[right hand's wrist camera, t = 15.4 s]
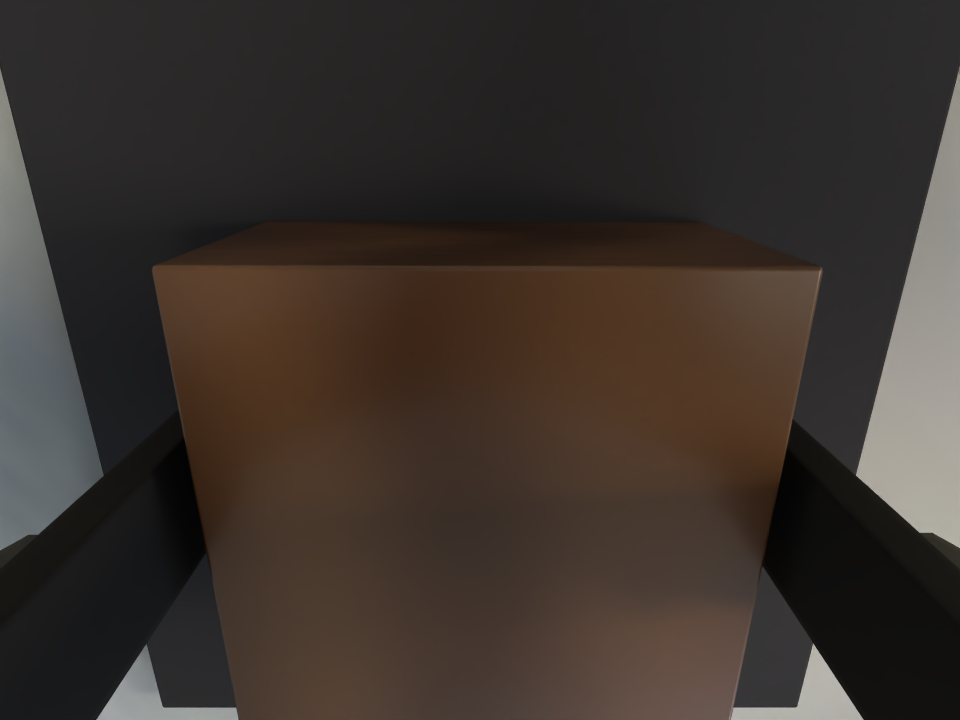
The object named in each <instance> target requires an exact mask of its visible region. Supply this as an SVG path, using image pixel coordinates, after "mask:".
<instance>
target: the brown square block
mask: <svg viewBox="0 0 960 720" xmlns="http://www.w3.org/2000/svg"><path fill="white" fill-rule="evenodd" d="M822 273H823V270H822V267H820V266H818V265H815V264H813V263H810V262H807V261H805V260H802V259H799V258H797V257H794V256H791V255H789V254H786V253H783V252H781V251H778V250H776V249H773V248H770V247H768V246H765V245H762V244H760V243H757V242H754V241H752V240H749V239H746V238H744V237H741V236H739V235H736V234H733V233H731V232H728V231H725V230H723V229H720V228H717V227H715V226H712V225H709V224H707V223H704V222H264V223H261V224H259V225H256V226H254V227H251V228H249V229H246V230H244V231H241V232H238V233H236V234H233V235H231V236H228V237H226V238H223V239H221V240H218V241H216V242H213V243H210V244H208V245H205V246H203V247H200V248H198V249H195V250H193V251H190V252H188V253H185V254H182V255H180V256H177V257H175V258H172V259H170V260H167V261H165V262H162V263H160V264H157V265H155V266H153V267H152V274H153V279H154V284H155V289H156V294H157V300H158V305H159V310H160V315H161V320H162V325H163V331H164V336H165V341H166V346H167V351H168V356H169V362H170V367H171V372H172V377H173V382H174V387H175V393H176V398H177V403H178V408H179V413H180V418H181V424H182V429H183V434H184V439H185V444H186V450H187V455H188V460H189V465H190V470H191V475H192V481H193V486H194V491H195V496H196V501H197V506H198V512H199V517H200V522H201V527H202V532H203V537H204V543H205V548H206V553H207V558H208V563H209V568H210V574H211V579H212V584H213V589H214V594H215V599H216V605H217V610H218V615H219V620H220V625H221V630H222V636H223V641H224V646H225V651H226V656H227V661H228V667H229V672H230V677H231V682H232V687H233V692H234V698H235V703H236V708H237V713H238V718H239V720H731V716H732V711H733V707H734V702H735V697H736V692H737V687H738V682H739V677H740V672H741V668H742V663H743V658H744V653H745V648H746V643H747V638H748V633H749V629H750V624H751V619H752V614H753V609H754V604H755V599H756V594H757V590H758V585H759V580H760V575H761V570H762V565H763V560H764V556H765V551H766V546H767V541H768V536H769V531H770V526H771V521H772V517H773V512H774V507H775V502H776V497H777V492H778V487H779V482H780V478H781V473H782V468H783V463H784V458H785V453H786V448H787V443H788V439H789V434H790V429H791V424H792V419H793V414H794V409H795V404H796V400H797V395H798V390H799V385H800V380H801V375H802V370H803V365H804V361H805V356H806V351H807V346H808V341H809V336H810V331H811V326H812V322H813V317H814V312H815V307H816V302H817V297H818V292H819V287H820V283H821V278H822Z"/></svg>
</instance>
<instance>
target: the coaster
mask: <svg viewBox="0 0 960 720" xmlns="http://www.w3.org/2000/svg"><path fill="white" fill-rule="evenodd" d="M959 67H960V0H0V69H1V73H2V76H3V80H4V84H5V88H6V92H7V96H8V100H9V104H10V108H11V112H12V116H13V120H14V124H15V128H16V131H17V135H18V139H19V143H20V147H21V151H22V155H23V159H24V163H25V167H26V171H27V175H28V179H29V183H30V187H31V190H32V194H33V198H34V202H35V206H36V210H37V214H38V218H39V222H40V226H41V230H42V234H43V238H44V242H45V246H46V249H47V253H48V257H49V261H50V265H51V269H52V273H53V277H54V281H55V285H56V289H57V293H58V297H59V301H60V304H61V308H62V312H63V316H64V320H65V324H66V328H67V332H68V336H69V340H70V344H71V348H72V352H73V356H74V360H75V363H76V367H77V371H78V375H79V379H80V383H81V387H82V391H83V395H84V399H85V403H86V407H87V411H88V415H89V419H90V422H91V426H92V430H93V434H94V438H95V442H96V446H97V450H98V454H99V458H100V462H101V466H102V470H103V474H104V475H105V474H106V473H108V472H109V471H110V470H111V469H112V468H113V467H114V466H115V465H116V464H118V463H119V462H120V461H121V460H122V459H123V458H124V457H125V456H127V455H128V454H129V453H130V452H131V451H132V450H133V449H134V448H135V447H137V446H138V445H139V444H140V443H141V442H142V441H143V440H144V439H145V438H147V437H148V436H149V435H150V434H151V433H152V432H153V431H154V430H155V429H157V428H158V427H159V426H160V425H161V424H162V423H163V422H164V421H165V420H167V419H168V418H169V417H170V416H171V415H172V414H173V413H174V412H175V411H179V408H178V403H177V398H176V393H175V387H174V382H173V377H172V372H171V367H170V362H169V356H168V351H167V346H166V341H165V336H164V331H163V325H162V320H161V315H160V310H159V305H158V300H157V294H156V289H155V284H154V279H153V274H152V267H153V266H155V265H157V264H160V263H162V262H165V261H167V260H170V259H172V258H175V257H177V256H180V255H182V254H185V253H188V252H190V251H193V250H195V249H198V248H200V247H203V246H205V245H208V244H210V243H213V242H216V241H218V240H221V239H223V238H226V237H228V236H231V235H233V234H236V233H238V232H241V231H244V230H246V229H249V228H251V227H254V226H256V225H259V224H261V223H264V222H704V223H707V224H709V225H712V226H715V227H717V228H720V229H723V230H725V231H728V232H731V233H733V234H736V235H739V236H741V237H744V238H746V239H749V240H752V241H754V242H757V243H760V244H762V245H765V246H768V247H770V248H773V249H776V250H778V251H781V252H783V253H786V254H789V255H791V256H794V257H797V258H799V259H802V260H805V261H807V262H810V263H813V264H815V265H818V266H820V267H822V270H823V273H822V278H821V283H820V287H819V292H818V297H817V302H816V307H815V312H814V317H813V322H812V326H811V331H810V336H809V341H808V346H807V351H806V356H805V361H804V365H803V370H802V375H801V380H800V385H799V390H798V395H797V400H796V404H795V409H794V414H793V420H795V421H796V422H797V423H798V424H799V425H800V426H801V427H802V428H803V429H805V430H806V431H807V432H808V433H809V434H810V435H811V436H812V437H813V438H815V439H816V440H817V441H818V442H819V443H820V444H821V445H822V446H823V447H825V448H826V449H827V450H828V451H829V452H830V453H831V454H832V455H834V456H835V457H836V458H837V459H838V460H839V461H840V462H841V463H842V464H844V465H845V466H846V467H847V468H848V469H849V470H850V471H851V472H852V473H854V474H855V475H856V472H857V468H858V465H859V461H860V457H861V453H862V449H863V445H864V441H865V437H866V433H867V429H868V425H869V421H870V417H871V413H872V409H873V406H874V402H875V398H876V394H877V390H878V386H879V382H880V378H881V374H882V370H883V366H884V362H885V358H886V354H887V350H888V347H889V343H890V339H891V335H892V331H893V327H894V323H895V319H896V315H897V311H898V307H899V303H900V299H901V295H902V291H903V287H904V284H905V280H906V276H907V272H908V268H909V264H910V260H911V256H912V252H913V248H914V244H915V240H916V236H917V232H918V228H919V225H920V221H921V217H922V213H923V209H924V205H925V201H926V197H927V193H928V189H929V185H930V181H931V177H932V173H933V169H934V166H935V162H936V158H937V154H938V150H939V146H940V142H941V138H942V134H943V130H944V126H945V122H946V118H947V114H948V110H949V106H950V103H951V99H952V95H953V91H954V87H955V83H956V79H957V75H958V71H959ZM812 646H813V642H812V641H811V639H810V637H809V636H808V634H807V633H806V631H805V630H804V628H803V627H802V625H801V624H800V622H799V621H798V619H797V618H796V616H795V615H794V613H793V612H792V610H791V609H790V607H789V606H788V604H787V603H786V601H785V600H784V598H783V597H782V595H781V593H780V592H779V590H778V589H777V587H776V586H775V584H774V583H773V581H772V580H771V578H770V577H769V575H768V574H767V572H766V571H765V569H764V568H763V566H762V570H761V575H760V580H759V585H758V590H757V594H756V599H755V604H754V609H753V614H752V619H751V624H750V629H749V633H748V638H747V643H746V648H745V653H744V658H743V663H742V668H741V672H740V677H739V682H738V687H737V692H736V697H735V702H734V707H797V705H798V701H799V697H800V693H801V689H802V685H803V681H804V677H805V673H806V669H807V665H808V661H809V657H810V653H811V650H812ZM147 647H148V650H149V654H150V658H151V662H152V666H153V670H154V674H155V678H156V682H157V686H158V690H159V694H160V698H161V702H162V706H163V707H236V703H235V698H234V692H233V687H232V682H231V677H230V672H229V667H228V661H227V656H226V651H225V646H224V641H223V636H222V630H221V625H220V620H219V615H218V610H217V605H216V599H215V594H214V589H213V584H212V579H211V574H210V568H209V563H208V558H207V553H206V554H205V556H204V557H203V559H202V560H201V562H200V563H199V565H198V566H197V568H196V569H195V571H194V572H193V574H192V575H191V577H190V578H189V580H188V581H187V583H186V584H185V586H184V587H183V589H182V590H181V592H180V594H179V595H178V597H177V598H176V600H175V601H174V603H173V604H172V606H171V607H170V609H169V610H168V612H167V613H166V615H165V616H164V618H163V619H162V621H161V622H160V624H159V625H158V627H157V628H156V630H155V631H154V633H153V634H152V636H151V637H150V639H149V641H148V642H147Z"/></svg>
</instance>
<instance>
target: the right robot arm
mask: <svg viewBox="0 0 960 720" xmlns="http://www.w3.org/2000/svg"><path fill="white" fill-rule="evenodd" d="M205 554H206V548H205V543H204V537H203V532H202V527H201V522H200V517H199V512H198V506H197V501H196V496H195V491H194V486H193V481H192V475H191V470H190V465H189V460H188V455H187V450H186V444H185V439H184V434H183V429H182V424H181V418H180V413H179V411H175V412H174V413H173V414H172V415H171V416H170V417H169V418H168V419H167V420H165V421H164V422H163V423H162V424H161V425H160V426H159V427H158V428H157V429H155V430H154V431H153V432H152V433H151V434H150V435H149V436H148V437H147V438H145V439H144V440H143V441H142V442H141V443H140V444H139V445H138V446H137V447H135V448H134V449H133V450H132V451H131V452H130V453H129V454H128V455H127V456H125V457H124V458H123V459H122V460H121V461H120V462H119V463H118V464H116V465H115V466H114V467H113V468H112V469H111V470H110V471H109V472H108V473H106V474H105V475H104V476H103V477H102V478H101V479H100V480H99V481H98V482H96V483H95V484H94V485H93V486H92V487H91V488H90V489H89V490H88V491H86V492H85V493H84V494H83V495H82V496H81V497H80V498H79V499H78V500H76V501H75V502H74V503H73V504H72V505H71V506H70V507H69V508H68V509H66V510H65V511H64V512H63V513H62V514H61V515H60V516H59V517H58V518H56V519H55V520H54V521H53V522H52V523H51V524H50V525H49V526H48V527H46V528H45V529H44V530H43V531H42V532H41V533H40V534H39V535H27V536H26V537H24V538H22V539H20V540H19V541H17V542H15V543H13V544H11V545H10V546H8V547H6V548H4V549H3V550H1V551H0V720H96V719H97V718H98V716H99V715H100V713H101V712H102V710H103V709H104V707H105V706H106V704H107V703H108V701H109V700H110V698H111V697H112V695H113V694H114V692H115V691H116V689H117V688H118V686H119V685H120V683H121V681H122V680H123V678H124V677H125V675H126V674H127V672H128V671H129V669H130V668H131V666H132V665H133V663H134V662H135V660H136V659H137V657H138V656H139V654H140V653H141V651H142V650H143V648H144V647H145V645H146V644H147V642H148V641H149V639H150V637H151V636H152V634H153V633H154V631H155V630H156V628H157V627H158V625H159V624H160V622H161V621H162V619H163V618H164V616H165V615H166V613H167V612H168V610H169V609H170V607H171V606H172V604H173V603H174V601H175V600H176V598H177V597H178V595H179V594H180V592H181V590H182V589H183V587H184V586H185V584H186V583H187V581H188V580H189V578H190V577H191V575H192V574H193V572H194V571H195V569H196V568H197V566H198V565H199V563H200V562H201V560H202V559H203V557H204V556H205ZM762 566H763V568H764V569H765V571H766V572H767V574H768V575H769V577H770V578H771V580H772V581H773V583H774V584H775V586H776V587H777V589H778V590H779V592H780V593H781V595H782V597H783V598H784V600H785V601H786V603H787V604H788V606H789V607H790V609H791V610H792V612H793V613H794V615H795V616H796V618H797V619H798V621H799V622H800V624H801V625H802V627H803V628H804V630H805V631H806V633H807V634H808V636H809V637H810V639H811V641H812V642H813V644H814V645H815V647H816V648H817V650H818V651H819V653H820V654H821V656H822V657H823V659H824V660H825V662H826V663H827V665H828V666H829V668H830V669H831V671H832V672H833V674H834V675H835V677H836V678H837V680H838V681H839V683H840V684H841V686H842V688H843V689H844V691H845V692H846V694H847V695H848V697H849V698H850V700H851V701H852V703H853V704H854V706H855V707H856V709H857V710H858V712H859V713H860V715H861V716H862V718H863V719H864V720H960V548H958V547H957V546H955V545H953V544H951V543H949V542H948V541H946V540H944V539H942V538H940V537H939V536H937V535H935V534H933V533H919V532H918V531H917V530H916V529H915V528H914V527H912V526H911V525H910V524H909V523H908V522H907V521H906V520H905V519H904V518H902V517H901V516H900V515H899V514H898V513H897V512H896V511H895V510H894V509H892V508H891V507H890V506H889V505H888V504H887V503H886V502H885V501H884V500H882V499H881V498H880V497H879V496H878V495H877V494H876V493H875V492H874V491H872V490H871V489H870V488H869V487H868V486H867V485H866V484H865V483H864V482H862V481H861V480H860V479H859V478H858V477H857V476H856V475H855V474H854V473H852V472H851V471H850V470H849V469H848V468H847V467H846V466H845V465H844V464H842V463H841V462H840V461H839V460H838V459H837V458H836V457H835V456H834V455H832V454H831V453H830V452H829V451H828V450H827V449H826V448H825V447H823V446H822V445H821V444H820V443H819V442H818V441H817V440H816V439H815V438H813V437H812V436H811V435H810V434H809V433H808V432H807V431H806V430H805V429H803V428H802V427H801V426H800V425H799V424H798V423H797V422H796V421H795V420H793V419H792V424H791V429H790V434H789V439H788V443H787V448H786V453H785V458H784V463H783V468H782V473H781V478H780V482H779V487H778V492H777V497H776V502H775V507H774V512H773V517H772V521H771V526H770V531H769V536H768V541H767V546H766V551H765V556H764V560H763V565H762Z"/></svg>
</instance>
